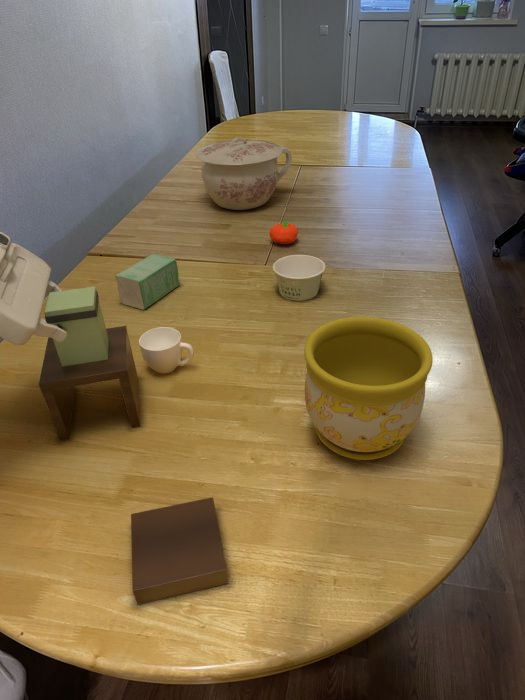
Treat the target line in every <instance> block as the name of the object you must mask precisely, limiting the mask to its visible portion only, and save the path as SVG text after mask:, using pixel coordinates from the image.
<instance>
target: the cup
mask: <svg viewBox="0 0 525 700" xmlns="http://www.w3.org/2000/svg"><path fill="white" fill-rule="evenodd" d="M138 345H139V349H140V353H141V356H142V358H143V360H144V362H145V363H146V365H148V366H149V368H150V369H151V370H153V371H154V372H156V373H157V374H161V375H165V374H170V373H172V372H173V371H175V370H176V368H177V367H182V366H186V365H187V364H189V363H190V362H191V361H192V359H193V358H194V356H195V351H194V348H193V346H192V345H191V344H190V343H187V342H183V340H182V335H181V332H180V331H179V330H178V329H176V328H173V327H169V326H159V327H154V328H151V329H149V330H146V331H145V332H143V333H142V334H141V336H140V337H139V339H138ZM183 349H186V350H187V352H188V357H187V358H185V359H183V360H181V359H182V355H183Z"/></svg>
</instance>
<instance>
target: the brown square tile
mask: <svg viewBox="0 0 525 700" xmlns="http://www.w3.org/2000/svg"><path fill="white" fill-rule="evenodd" d="M217 516H218V515H217V511H216V506H215V500H214V497H213V496H212V497H207V498H203V499H202V498H201V499H198V500H193V501H188V502H181V503H177V504H173V505H169V506H164V507H159V508H154V509H148V510H144V511H138V512H134V513H130V531H131V532H130V533H131V537H130V538H131V539H130V540H131V580H132V581H131V583H132V595H133V597H134V599H135V602H136V605H141V604H146V603H150V602H155V601H159V600H163V599H168V598H172V597H176V596H180V595H184V594H189V593H194V592H197V591H202V590H207V589H210V588H214V587H218V586H219V587H220V586H223V585H227V584H229V577H228V572H227V566H226V565H227V564H226V560H225V554H224V549H223V544H222V543H223V542H222V538H221V534H220V533H221V532H220V527H219V522H218V517H217Z"/></svg>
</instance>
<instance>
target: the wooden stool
mask: <svg viewBox="0 0 525 700" xmlns="http://www.w3.org/2000/svg"><path fill="white" fill-rule="evenodd" d="M106 331H107V335H108V338H109V343H108V360H102V361H96V362H89V363H83V364H77V365H70V366H64V367H62V365H61V362H60V359H59V356H58V353H57V350H56V347H55V344H54V341H53V338H51V337H50V338H49V337H47V341H46V345H45V347H46V348H45V350H44V351H45V352H44V357H43V362H42V366H41V370H40V376H39V380H38V386H39V389H40V391H41V392H40V393H41V394H42V397H43V401H44V402H45V405H46V407H47V410H48V413H49V415H50V418H51V421H52V424H53V426H54V429H55V431H56V435H57V437H58V440H59V441H60V442H63V441H67V440H70V436H71V427H72V417H73V409H74V402H75V401H74V400H75V392H76V389H75V387H78V386H84V385H91V384H96V383H102V382H103V383H104V382H109V381H115V380H118V381H119V384H120V389H121V393H122V396H123V401H124V404H125V408H126V413H127V416H128V420H129V423H130V427H131V429H135V428H140V427H141V411H140V410H141V409H140V408H141V407H140V406H141V405H140V385H139V376H138V371H137V368H136V363H135V359H134V354H133V350H132V344H131V341H130V336H129V332H128V328H127V325H121V326H115V327H114V326H113V327H108V328H107V327H106Z"/></svg>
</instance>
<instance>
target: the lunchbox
mask: <svg viewBox="0 0 525 700" xmlns="http://www.w3.org/2000/svg"><path fill="white" fill-rule="evenodd" d="M99 297H100V295H99V292H98V290H97V288H96V286H88V287H80V288H74V289H67V290H62V291H57V292H50V293H49V294H48V296H47V299H46V302H45V308H44V311H43V313H44V320H46V323H48V324H51V325H55V326H56V325H57V324H60V325H62V326H63V327H65V328H67V337H66V338H65V339H64V340H63V341H62V342H58V341H57V340H55V339H53V341H54V344H55V347H56V350H57V353H58V356H59V359H60V362H61V365H62V367H64V366H70V365H77V364H83V363H89V362H96V361H102V360H108V343H109V338H108V335H107V331H106V329H107V327H106V323H105V319H104V314H103V311H102V307H101V304H100V298H99Z"/></svg>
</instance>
